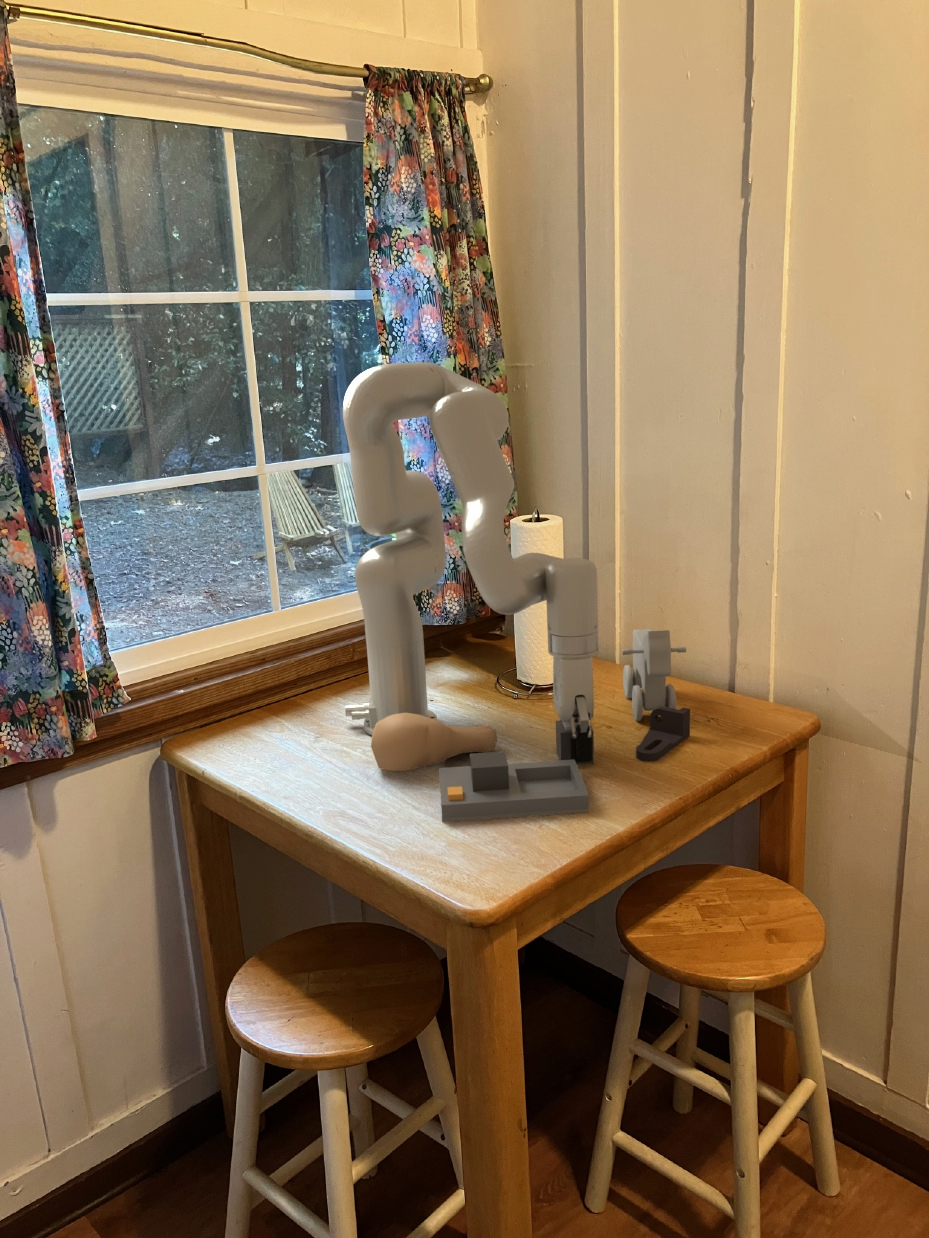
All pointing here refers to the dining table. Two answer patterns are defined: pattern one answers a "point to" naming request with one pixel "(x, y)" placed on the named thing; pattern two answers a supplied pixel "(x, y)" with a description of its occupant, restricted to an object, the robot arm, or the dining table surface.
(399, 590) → the robot arm
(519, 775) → the grey fixture base
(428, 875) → the dining table surface
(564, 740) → the plug
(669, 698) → the pony
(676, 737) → the bracket
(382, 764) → the squash
